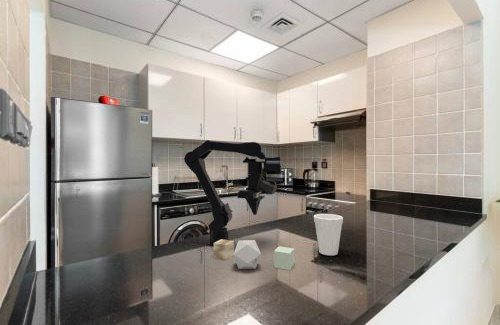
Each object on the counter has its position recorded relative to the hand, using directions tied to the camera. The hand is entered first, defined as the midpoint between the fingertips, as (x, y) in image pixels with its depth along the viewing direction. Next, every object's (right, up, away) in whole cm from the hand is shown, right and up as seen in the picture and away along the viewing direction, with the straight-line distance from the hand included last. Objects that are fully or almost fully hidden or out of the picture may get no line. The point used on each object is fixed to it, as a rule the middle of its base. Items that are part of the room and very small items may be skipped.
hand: (254, 214), depth 95 cm
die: (-3, -12, -21) cm, 24 cm away
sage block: (+9, -12, -20) cm, 24 cm away
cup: (+26, -12, -9) cm, 30 cm away
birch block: (-11, -12, -12) cm, 20 cm away
